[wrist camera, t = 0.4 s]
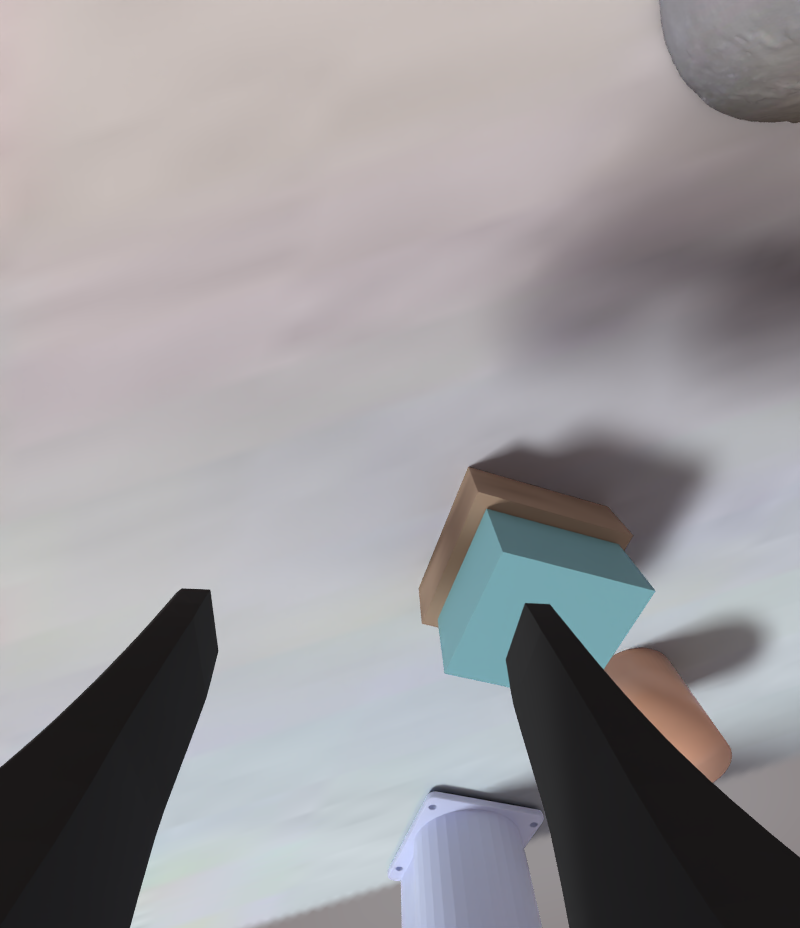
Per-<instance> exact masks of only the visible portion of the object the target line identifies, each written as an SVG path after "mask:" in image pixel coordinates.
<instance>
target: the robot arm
mask: <svg viewBox="0 0 800 928" xmlns="http://www.w3.org/2000/svg"><path fill="white" fill-rule="evenodd" d="M217 654H218V645H217V637H216V630H215V622H214V615H213V607H212V599H211V592H210V590H205V589H181V590H179V591H178V592H177V593H176V594H175V595H174V596H173V597H172V599H171V600H170V601H169V602H168V603H167V604H166V605H165V607H164V608H163V609H162V610H161V611H160V612H159V613H158V615H157V616H156V617H155V618H154V619H153V620H152V621H151V622H150V623H149V625H148V626H147V627H146V628H145V629H144V630H143V631H142V632H141V633H140V634H139V636H138V637H137V638H136V639H135V640H134V641H133V642H132V643H131V644H130V645H129V646H128V647H127V648H126V649H125V650H124V652H123V653H122V654H121V655H120V656H119V657H118V658H117V659H116V660H115V661H114V662H113V663H112V664H111V665H110V666H109V667H108V668H107V669H106V670H105V671H104V672H103V673H102V674H101V675H100V676H99V677H98V678H97V679H96V680H95V681H94V682H93V683H92V684H91V685H90V686H89V687H88V688H87V689H86V690H85V691H84V692H83V693H82V694H81V695H80V696H79V697H78V698H77V699H76V700H75V701H74V702H73V703H72V704H71V705H70V706H68V707H67V708H66V709H65V710H64V711H63V712H62V713H61V714H60V715H59V716H58V717H57V718H56V719H55V720H54V721H53V722H52V723H50V724H49V725H48V726H47V727H46V728H45V729H44V730H43V731H42V732H41V733H39V734H38V735H37V736H36V737H35V738H34V739H33V740H32V741H30V742H29V743H28V744H27V745H26V746H25V747H24V748H22V749H21V750H20V751H19V752H18V753H17V754H15V755H14V756H13V757H12V758H11V759H10V760H8V761H7V762H6V763H5V764H4V765H3V766H1V767H0V928H130V925H131V922H132V918H133V914H134V911H135V907H136V903H137V899H138V896H139V892H140V889H141V885H142V882H143V878H144V875H145V871H146V868H147V864H148V861H149V857H150V854H151V850H152V847H153V843H154V840H155V836H156V833H157V830H158V827H159V824H160V821H161V819H162V816H163V813H164V810H165V807H166V804H167V802H168V799H169V796H170V794H171V791H172V788H173V786H174V783H175V780H176V778H177V775H178V772H179V770H180V767H181V764H182V762H183V759H184V756H185V754H186V751H187V749H188V746H189V743H190V741H191V738H192V735H193V733H194V730H195V727H196V724H197V722H198V719H199V716H200V714H201V711H202V708H203V705H204V703H205V700H206V697H207V693H208V690H209V686H210V682H211V678H212V674H213V670H214V666H215V662H216V658H217ZM506 665H507V671H508V677H509V684H510V689H511V694H512V700H513V705H514V708H515V712H516V715H517V719H518V722H519V726H520V729H521V732H522V736H523V739H524V743H525V746H526V749H527V753H528V756H529V760H530V763H531V766H532V770H533V773H534V776H535V780H536V783H537V786H538V790H539V793H540V796H541V800H542V803H543V807H544V810H545V814H546V818H547V822H548V825H549V829H550V833H551V838H552V843H553V847H554V852H555V857H556V862H557V867H558V872H559V876H560V881H561V886H562V891H563V896H564V901H565V907H566V912H567V918H568V923H569V928H800V857H799V856H797V855H796V854H795V853H794V852H792V851H791V850H790V849H789V848H788V847H786V846H785V845H784V844H783V843H782V842H780V841H779V840H778V839H777V838H775V837H774V836H773V835H772V834H771V833H769V832H768V831H767V830H766V829H765V828H764V827H762V826H761V825H760V824H759V823H758V822H756V821H755V820H754V819H753V818H752V817H751V816H749V815H748V814H747V813H746V812H745V811H744V810H743V809H741V808H740V807H739V806H738V805H737V804H735V803H734V802H733V801H732V800H731V799H730V798H729V797H728V796H727V795H725V794H724V793H723V792H722V791H721V790H720V789H719V788H718V787H717V786H715V785H714V784H713V783H712V782H711V781H710V780H709V779H708V778H707V777H706V776H705V775H704V774H703V773H702V772H700V771H699V770H698V769H697V768H696V767H695V766H694V765H693V764H692V763H691V762H690V761H689V760H688V759H687V758H686V757H685V756H684V755H683V754H682V753H681V752H680V751H678V750H677V749H676V748H675V747H674V746H673V745H672V744H671V743H670V742H669V741H668V740H667V739H666V738H665V737H664V735H663V734H662V733H661V732H660V731H659V730H658V729H657V728H656V727H655V726H654V725H653V724H652V723H651V722H650V721H649V720H648V719H647V718H646V717H645V715H644V714H643V713H642V712H641V711H640V710H639V709H638V708H637V707H636V706H635V705H634V704H633V703H632V701H631V700H630V699H629V698H628V697H627V696H626V695H625V694H624V692H623V691H622V690H621V689H620V688H619V687H618V686H617V684H616V683H615V682H614V681H613V680H612V679H611V677H610V676H609V675H608V674H607V673H606V672H605V671H604V669H603V668H602V667H601V666H600V665H599V663H598V662H597V661H596V660H595V659H594V657H593V656H592V655H591V654H590V653H589V651H588V650H587V649H586V648H585V647H584V645H583V644H582V643H581V642H580V640H579V639H578V638H577V637H576V636H575V634H574V633H573V632H572V631H571V629H570V628H569V627H568V626H567V624H566V623H565V622H564V621H563V620H562V618H561V617H560V616H559V615H558V613H557V612H556V611H555V610H554V609H553V607H552V606H551V605H550V604H538V603H525V604H524V607H523V610H522V613H521V616H520V619H519V622H518V625H517V627H516V630H515V633H514V636H513V639H512V642H511V645H510V648H509V651H508V654H507V657H506ZM543 821H544V816H543V813H542V811H540V810H537V809H532V808H526V807H521V806H515V805H509V804H504V803H498V802H493V801H487V800H481V799H476V798H470V797H465V796H459V795H453V794H448V793H442V792H436V791H434V792H430V793H429V794H428V795H427V797H426V799H425V800H424V802H423V804H422V806H421V808H420V810H419V812H418V814H417V816H416V818H415V819H414V821H413V823H412V825H411V827H410V829H409V831H408V833H407V835H406V837H405V838H404V840H403V842H402V844H401V846H400V848H399V850H398V852H397V854H396V856H395V857H394V859H393V861H392V863H391V865H390V867H389V869H388V878H389V879H391V880H395V881H401V905H402V906H401V907H402V928H542V924H541V920H540V915H539V911H538V907H537V902H536V898H535V894H534V889H533V885H532V881H531V877H530V872H529V868H528V864H527V860H526V855H525V851H524V848H525V846H526V845H527V844H528V842H529V841H530V839H531V838H532V837H533V835H534V834H535V832H536V831H537V829H538V828H539V827H540V825H541V824H542V822H543Z"/></svg>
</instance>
